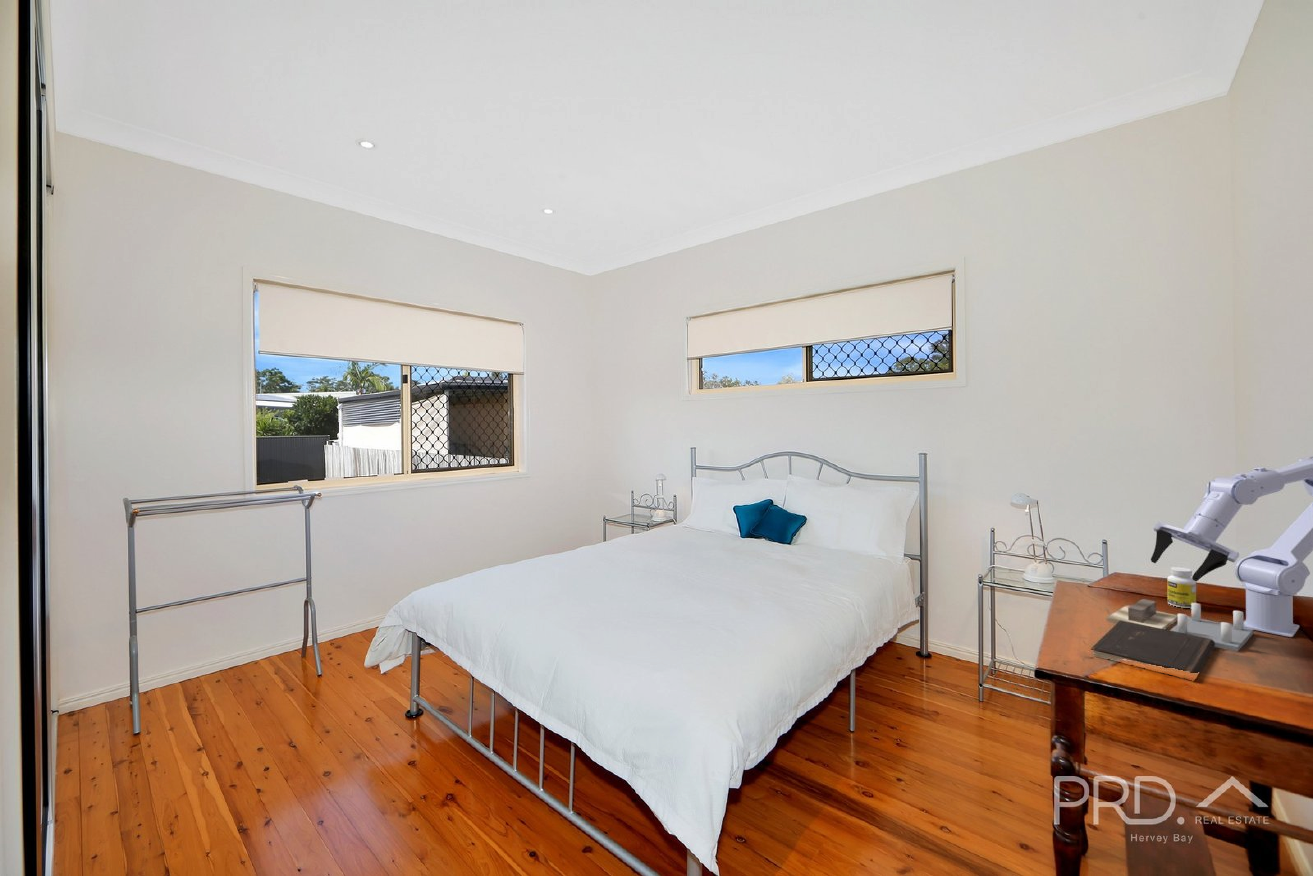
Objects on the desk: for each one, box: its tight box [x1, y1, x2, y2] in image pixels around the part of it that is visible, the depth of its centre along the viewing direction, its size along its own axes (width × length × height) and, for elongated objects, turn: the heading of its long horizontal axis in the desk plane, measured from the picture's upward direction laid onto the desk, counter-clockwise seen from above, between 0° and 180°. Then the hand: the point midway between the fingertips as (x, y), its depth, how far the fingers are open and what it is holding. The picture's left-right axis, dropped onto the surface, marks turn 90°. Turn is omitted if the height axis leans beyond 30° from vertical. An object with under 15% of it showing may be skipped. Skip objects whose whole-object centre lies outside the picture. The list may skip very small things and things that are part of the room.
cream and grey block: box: [1105, 598, 1178, 630], centre depth 134 cm, size 14×10×4 cm
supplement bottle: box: [1166, 566, 1197, 610], centre depth 142 cm, size 5×5×10 cm
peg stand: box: [1169, 602, 1254, 652], centre depth 124 cm, size 15×11×5 cm
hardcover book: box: [1090, 620, 1216, 673], centre depth 117 cm, size 16×23×2 cm
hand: (1173, 570), depth 125 cm, fingers open, 7 cm apart
